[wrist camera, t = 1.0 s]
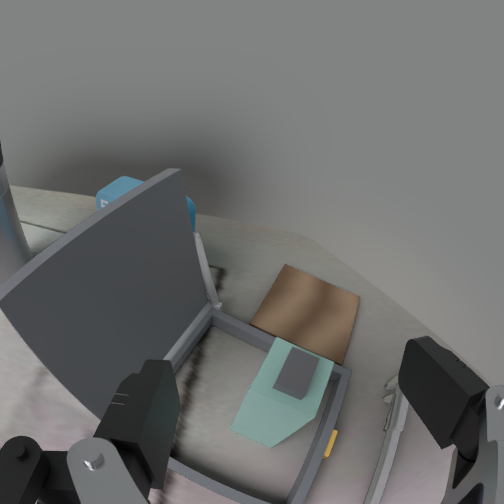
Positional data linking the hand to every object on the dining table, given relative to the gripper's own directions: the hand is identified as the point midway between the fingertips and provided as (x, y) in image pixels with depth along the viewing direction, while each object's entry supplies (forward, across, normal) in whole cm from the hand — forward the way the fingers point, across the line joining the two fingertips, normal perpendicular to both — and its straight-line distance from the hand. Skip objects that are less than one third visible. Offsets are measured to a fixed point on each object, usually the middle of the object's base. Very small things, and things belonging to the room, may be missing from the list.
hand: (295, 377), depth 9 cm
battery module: (+13, +1, +16) cm, 21 cm away
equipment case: (+15, +4, +14) cm, 21 cm away
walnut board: (+26, -7, +11) cm, 29 cm away
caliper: (+9, -11, +22) cm, 26 cm away
